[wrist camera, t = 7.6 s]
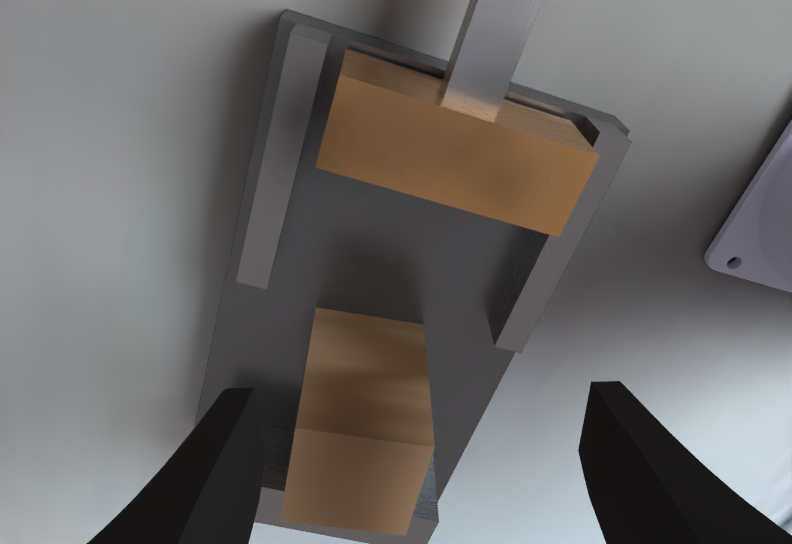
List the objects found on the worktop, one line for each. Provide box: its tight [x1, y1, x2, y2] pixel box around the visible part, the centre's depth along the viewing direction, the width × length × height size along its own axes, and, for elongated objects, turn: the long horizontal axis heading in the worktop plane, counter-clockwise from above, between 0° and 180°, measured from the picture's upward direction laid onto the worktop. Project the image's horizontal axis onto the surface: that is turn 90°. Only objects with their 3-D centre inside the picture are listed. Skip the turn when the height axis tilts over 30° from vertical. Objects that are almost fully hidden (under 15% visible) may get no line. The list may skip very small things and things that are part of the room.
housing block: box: [280, 307, 435, 536], centre depth 21 cm, size 4×4×6 cm
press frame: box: [194, 9, 631, 544], centre depth 22 cm, size 11×18×4 cm, turn 162°
